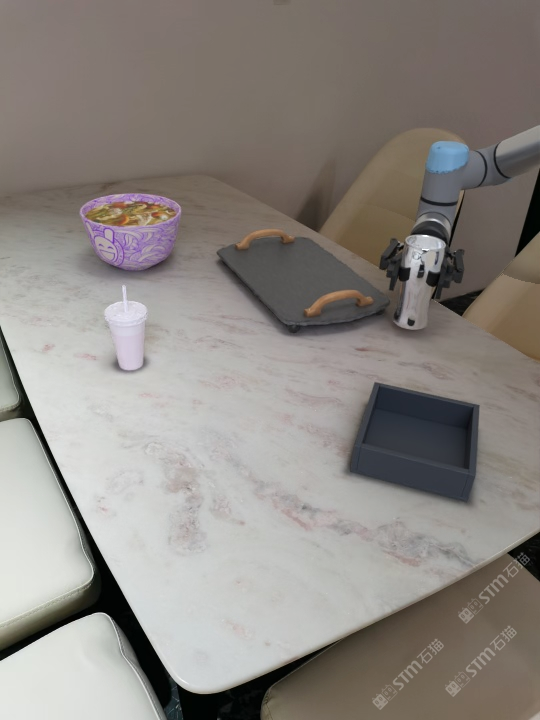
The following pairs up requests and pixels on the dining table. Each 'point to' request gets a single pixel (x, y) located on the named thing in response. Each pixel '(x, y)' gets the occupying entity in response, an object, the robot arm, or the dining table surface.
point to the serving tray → (301, 280)
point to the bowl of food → (132, 228)
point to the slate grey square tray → (418, 441)
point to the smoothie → (127, 331)
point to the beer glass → (418, 279)
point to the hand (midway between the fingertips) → (415, 287)
